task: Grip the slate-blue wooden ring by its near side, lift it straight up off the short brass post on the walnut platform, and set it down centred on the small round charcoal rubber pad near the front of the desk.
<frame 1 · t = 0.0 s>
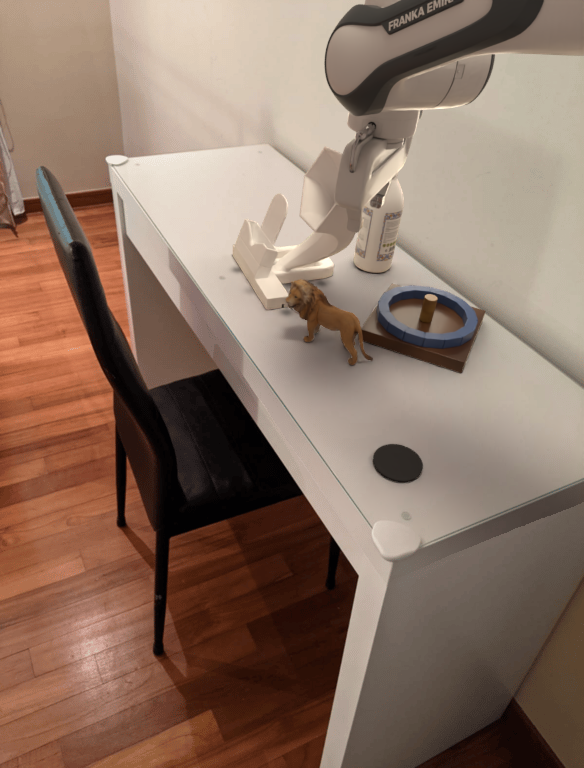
hand: (365, 217, 86), 17 cm above the table, tool pointing down, fingers open, 8 cm apart
platform: (422, 330, 96), on the table
mat: (397, 463, 73), on the table
ring: (425, 319, 95), point 2 cm above the table, touching platform
jewelry stand: (297, 285, 104), on the table
bath foam: (371, 265, 112), on the table
lion figurine: (323, 346, 91), on the table
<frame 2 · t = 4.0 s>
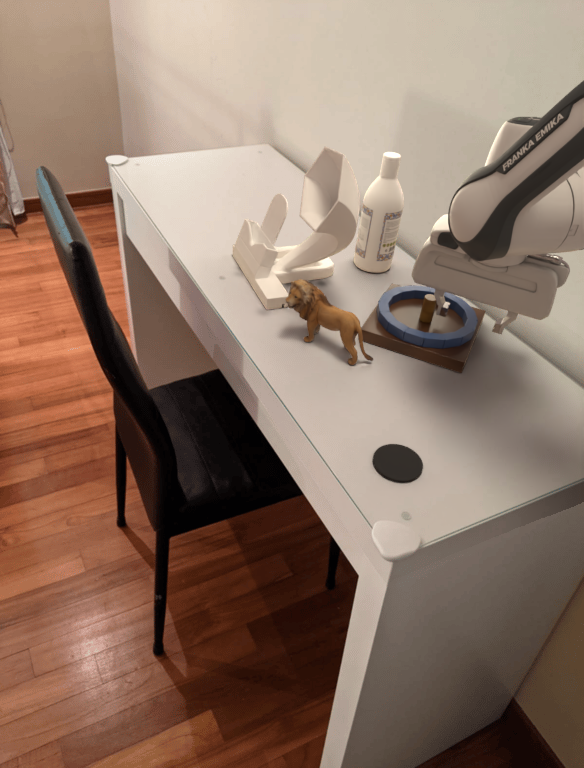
hand: (469, 322, 93), 4 cm above the table, tool pointing down, fingers open, 7 cm apart
nothing on the table moved.
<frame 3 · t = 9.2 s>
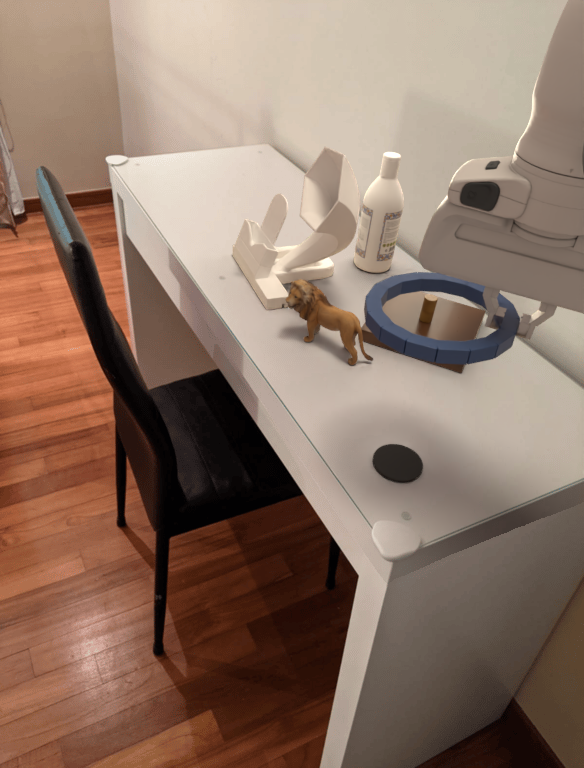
hand: (507, 330, 60), 21 cm above the table, tool pointing down, fingers closed on ring
ring: (438, 320, 63), point 19 cm above the table, touching gripper
everything else where it was.
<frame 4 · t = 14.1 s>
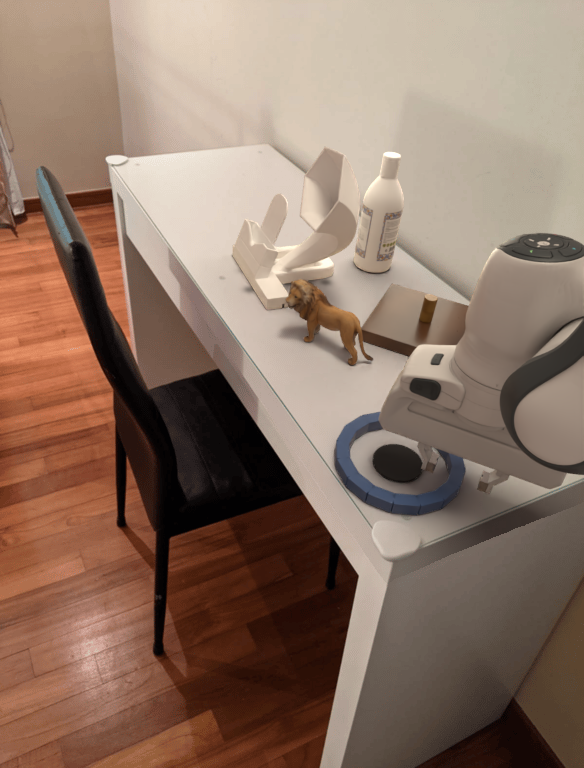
hand: (455, 477, 71), 1 cm above the table, tool pointing down, fingers open, 5 cm apart
ring: (397, 464, 73), on the table
everything else where it was.
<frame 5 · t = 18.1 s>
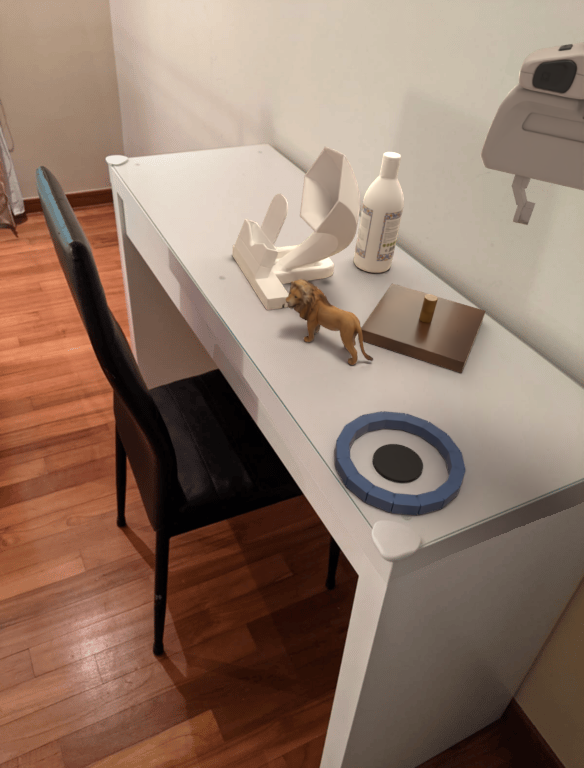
hand: (570, 234, 58), 29 cm above the table, tool pointing down, fingers open, 8 cm apart
nothing on the table moved.
at the end: ring inside the target area on the mat (0.0 cm from its centre), point 0.0 cm above the mat's base; ring moved 30.5 cm from its start; the gripper is holding nothing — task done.
